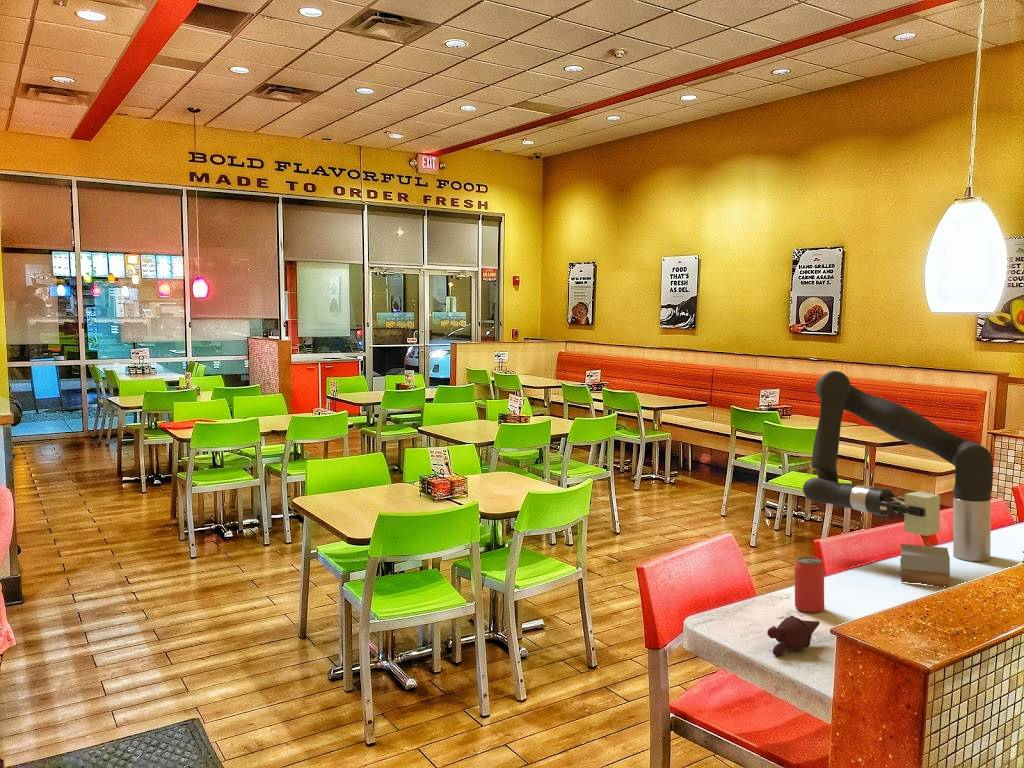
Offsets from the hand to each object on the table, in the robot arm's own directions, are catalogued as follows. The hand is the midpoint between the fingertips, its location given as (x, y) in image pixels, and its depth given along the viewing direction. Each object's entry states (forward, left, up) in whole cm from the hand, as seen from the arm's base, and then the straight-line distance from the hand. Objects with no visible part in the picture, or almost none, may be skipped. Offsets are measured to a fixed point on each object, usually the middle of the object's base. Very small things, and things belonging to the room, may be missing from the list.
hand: (931, 511), depth 199 cm
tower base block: (-1, -2, -19) cm, 19 cm away
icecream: (+58, -29, -19) cm, 68 cm away
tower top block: (-1, -2, -15) cm, 15 cm away
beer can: (+33, -28, -19) cm, 47 cm away
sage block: (-1, -2, -6) cm, 7 cm away
